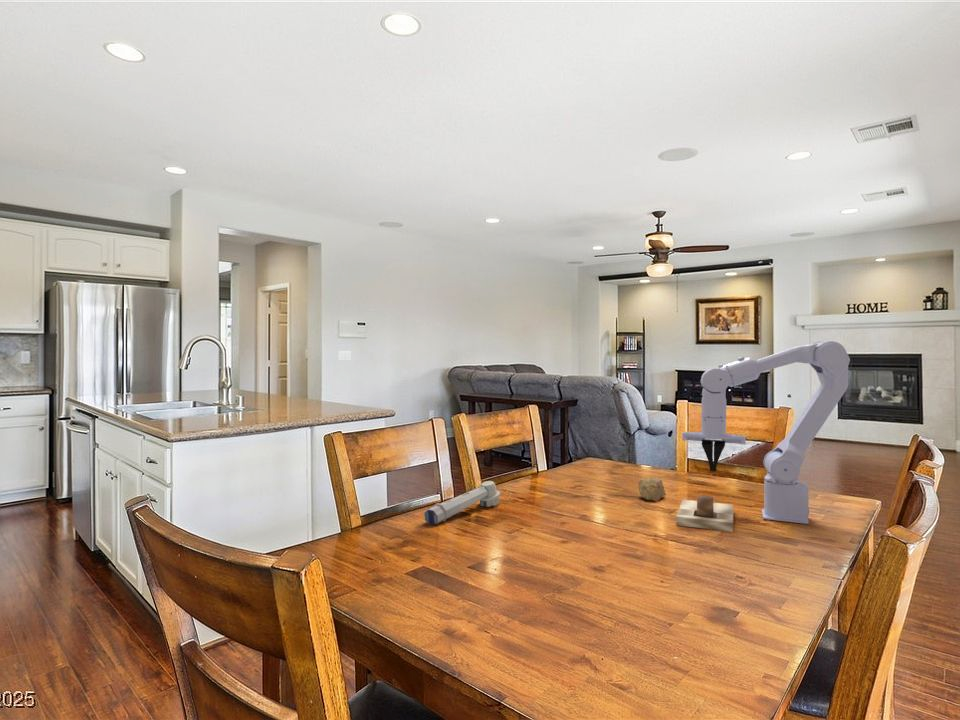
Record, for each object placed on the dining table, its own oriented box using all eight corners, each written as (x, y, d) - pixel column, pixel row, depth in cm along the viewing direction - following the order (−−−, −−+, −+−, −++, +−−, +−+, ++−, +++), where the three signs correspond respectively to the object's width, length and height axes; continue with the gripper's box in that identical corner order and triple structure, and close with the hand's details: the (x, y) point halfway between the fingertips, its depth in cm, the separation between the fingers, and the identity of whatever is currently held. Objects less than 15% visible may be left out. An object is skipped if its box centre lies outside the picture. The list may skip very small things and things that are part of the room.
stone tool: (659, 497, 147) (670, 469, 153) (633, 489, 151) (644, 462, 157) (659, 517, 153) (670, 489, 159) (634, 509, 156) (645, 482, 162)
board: (733, 512, 139) (733, 504, 139) (732, 531, 125) (732, 523, 125) (682, 507, 144) (682, 499, 144) (676, 524, 130) (676, 516, 130)
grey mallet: (421, 507, 132) (487, 474, 151) (424, 533, 133) (489, 498, 152) (437, 511, 129) (502, 477, 148) (440, 538, 130) (504, 501, 149)
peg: (713, 521, 132) (713, 496, 132) (714, 525, 129) (714, 500, 129) (696, 519, 134) (696, 494, 134) (697, 524, 130) (696, 498, 130)
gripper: (745, 416, 140) (744, 470, 140) (684, 413, 146) (683, 465, 146) (746, 419, 133) (745, 476, 134) (681, 416, 140) (681, 470, 140)
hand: (713, 470), depth 140 cm, fingers closed
